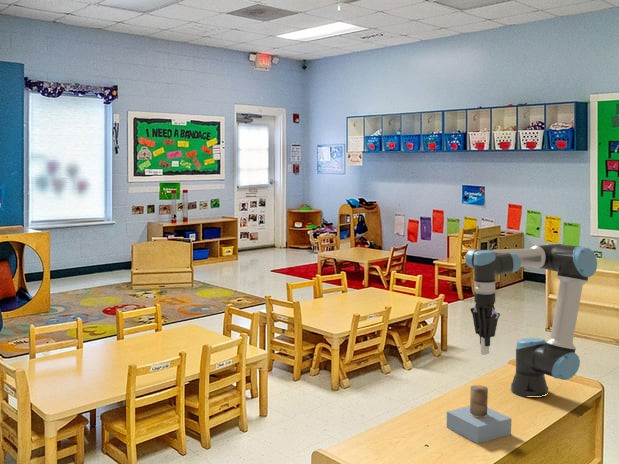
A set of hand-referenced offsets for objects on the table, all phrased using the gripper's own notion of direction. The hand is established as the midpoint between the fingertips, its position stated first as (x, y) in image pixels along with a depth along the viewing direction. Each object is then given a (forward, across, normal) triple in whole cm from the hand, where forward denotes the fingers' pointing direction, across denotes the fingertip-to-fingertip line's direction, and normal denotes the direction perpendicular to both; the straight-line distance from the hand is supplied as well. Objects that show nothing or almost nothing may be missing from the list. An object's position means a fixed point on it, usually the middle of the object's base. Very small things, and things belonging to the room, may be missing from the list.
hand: (485, 353), depth 232 cm
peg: (+24, +6, -10) cm, 27 cm away
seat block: (+25, +6, -10) cm, 28 cm away
